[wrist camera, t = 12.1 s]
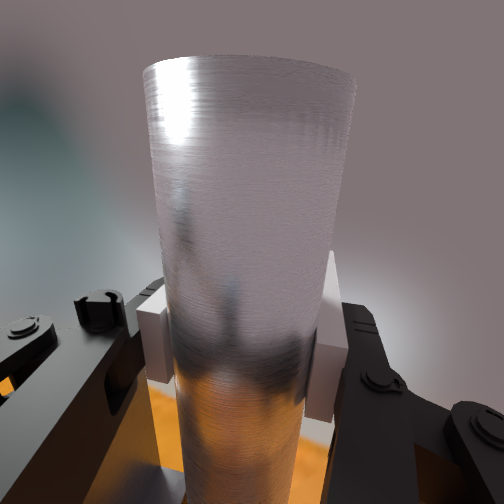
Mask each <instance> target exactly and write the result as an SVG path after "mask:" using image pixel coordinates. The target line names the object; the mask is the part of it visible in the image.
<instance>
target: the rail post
mask: <svg viewBox="0 0 504 504" xmlns="http://www.w3.org/2000/svg"><path fill="white" fill-rule="evenodd" d="M143 81H144V89H145V100H146V109H147V119H148V129H149V138H150V148H151V158H152V167H153V177H154V186H155V196H156V205H157V216H158V225H159V235H160V244H161V254H162V264H163V273H164V283H165V293H166V302H167V312H168V322H169V331H170V341H171V351H172V360H173V370H174V379H175V389H176V399H177V408H178V418H179V428H180V437H181V447H182V457H183V466H184V476H185V486H186V495H187V504H288V500H289V494H290V488H291V482H292V476H293V470H294V464H295V458H296V452H297V446H298V440H299V434H300V428H301V421H302V416H303V409H304V403H305V395H306V389H307V383H308V377H309V371H310V365H311V358H312V352H313V346H314V340H315V334H316V328H317V324H318V319H319V313H320V307H321V301H322V295H323V289H324V282H325V276H326V270H327V264H328V258H329V252H330V246H331V240H332V234H333V228H334V222H335V216H336V209H337V204H338V197H339V191H340V186H341V179H342V174H343V168H344V161H345V155H346V149H347V143H348V137H349V131H350V125H351V119H352V113H353V107H354V101H355V95H356V89H357V81H356V80H355V79H354V78H353V77H352V76H350V75H349V74H347V73H345V72H343V71H340V70H338V69H334V68H331V67H328V66H324V65H320V64H316V63H311V62H304V61H299V60H293V59H285V58H276V57H265V56H248V55H209V56H193V57H185V58H177V59H171V60H167V61H162V62H159V63H156V64H153V65H151V66H149V67H147V68H146V69H145V70H144V72H143Z"/></svg>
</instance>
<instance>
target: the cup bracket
mask: <svg viewBox="0 0 504 504" xmlns="http://www.w3.org/2000/svg"><path fill="white" fill-rule="evenodd" d="M137 379H138V387H137V391H136V393H135V395H134V397H133V399H132V401H131V403H130V405H129V407H128V409H127V412H126V414H125V416H124V418H123V420H122V422H121V424H120V426H119V428H118V431H117V433H116V435H115V437H114V439H113V441H112V443H111V445H110V447H109V449H108V452H107V454H106V456H105V458H104V460H103V462H102V464H101V466H100V468H99V471H98V473H97V475H96V477H95V479H94V481H93V483H92V485H91V487H90V490H89V492H88V494H87V496H86V498H85V500H84V502H83V504H184V502H185V499H186V496H187V495H186V486H185V476H184V473H182V472H179V471H175V470H172V469H169V468H165V467H162V466H161V465H160V459H159V453H158V446H157V440H156V434H155V428H154V422H153V416H152V409H151V403H150V397H149V391H148V385H147V378H146V372H145V366H144V368H143V369H142V370H141V371H140V373H139V374H138V375H137Z"/></svg>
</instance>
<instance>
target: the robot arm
mask: <svg viewBox="0 0 504 504" xmlns="http://www.w3.org/2000/svg"><path fill="white" fill-rule="evenodd" d="M74 305H75V308H76V312H77V316H78V319H79V323H80V325H79V326H78V327H77V328H68V329H55V328H54V325H53V322H52V319H51V318H50V317H48V316H42V315H37V316H29V317H25V318H22V319H19V320H16V321H14V322H12V323H10V324H8V325H6V326H4V327H2V328H0V382H1V381H2V380H4V379H5V378H7V377H9V379H10V382H11V384H12V386H13V388H14V391H13V392H11V393H9V394H7V395H5V396H2V395H1V394H0V504H83V502H84V500H85V498H86V496H87V494H88V492H89V490H90V487H91V485H92V483H93V481H94V479H95V477H96V475H97V473H98V471H99V468H100V466H101V464H102V462H103V460H104V458H105V456H106V454H107V452H108V449H109V447H110V445H111V443H112V441H113V439H114V437H115V435H116V433H117V431H118V428H119V426H120V424H121V422H122V420H123V418H124V416H125V414H126V412H127V409H128V407H129V405H130V403H131V401H132V399H133V397H134V395H135V393H136V391H137V387H138V379H137V375H138V374H139V373H140V371H141V370H142V369H143V368H144V366H145V370H146V376H147V379H149V380H154V381H157V382H162V383H166V384H168V383H169V381H170V380H171V378H172V377H173V375H174V370H173V360H172V351H171V341H170V331H169V322H168V312H167V302H166V293H165V283H164V277H162V278H160V279H158V280H156V281H154V282H152V283H151V284H150V285H149V286H148V287H146V289H144V290H143V291H142V292H140V293H139V295H137V296H136V297H134V298H133V299H132V300H131V301H129V302H128V303H127V304H126V305H125V306H124V302H123V297H122V294H121V293H120V292H118V291H115V290H98V291H94V292H89V293H87V294H85V295H82V296H80V297H78V298H77V299H75V300H74ZM333 414H334V421H335V429H334V433H333V437H332V441H331V445H330V449H329V453H328V457H329V458H328V463H327V468H326V474H325V479H324V485H323V490H322V495H321V501H320V504H504V415H502V414H501V413H499V412H497V411H495V410H494V409H492V408H490V407H488V406H485V405H482V404H479V403H476V402H471V401H460V402H458V403H457V404H454V405H453V407H452V409H451V411H450V410H447V409H445V408H443V407H441V406H438V405H436V404H434V403H432V402H430V401H427V400H425V399H423V398H421V397H419V396H417V395H415V394H414V393H412V392H411V391H410V390H408V388H407V385H406V383H405V381H404V380H403V379H402V378H401V376H400V375H399V374H398V373H397V372H395V371H394V370H393V369H391V368H390V366H389V363H388V359H387V357H386V354H385V350H384V347H383V344H382V341H381V338H380V336H379V333H378V330H377V327H376V323H375V320H374V318H373V315H372V314H371V313H370V311H369V310H368V309H367V308H366V307H365V306H363V305H357V304H350V303H343V302H341V298H340V292H339V285H338V279H337V273H336V266H335V260H334V253H333V251H330V252H329V258H328V264H327V270H326V276H325V282H324V289H323V295H322V301H321V307H320V313H319V319H318V324H317V328H316V334H315V340H314V346H313V352H312V358H311V365H310V371H309V377H308V383H307V389H306V395H305V417H307V418H312V419H316V420H320V421H324V422H328V423H331V422H332V418H333Z"/></svg>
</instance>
